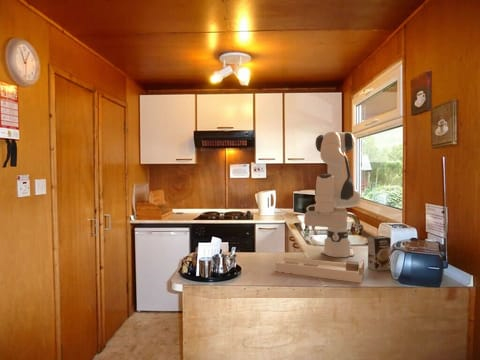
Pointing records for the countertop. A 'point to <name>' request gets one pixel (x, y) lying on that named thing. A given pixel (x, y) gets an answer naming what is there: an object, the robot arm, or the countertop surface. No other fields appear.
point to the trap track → (320, 269)
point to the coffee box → (379, 252)
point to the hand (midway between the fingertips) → (325, 235)
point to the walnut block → (352, 266)
